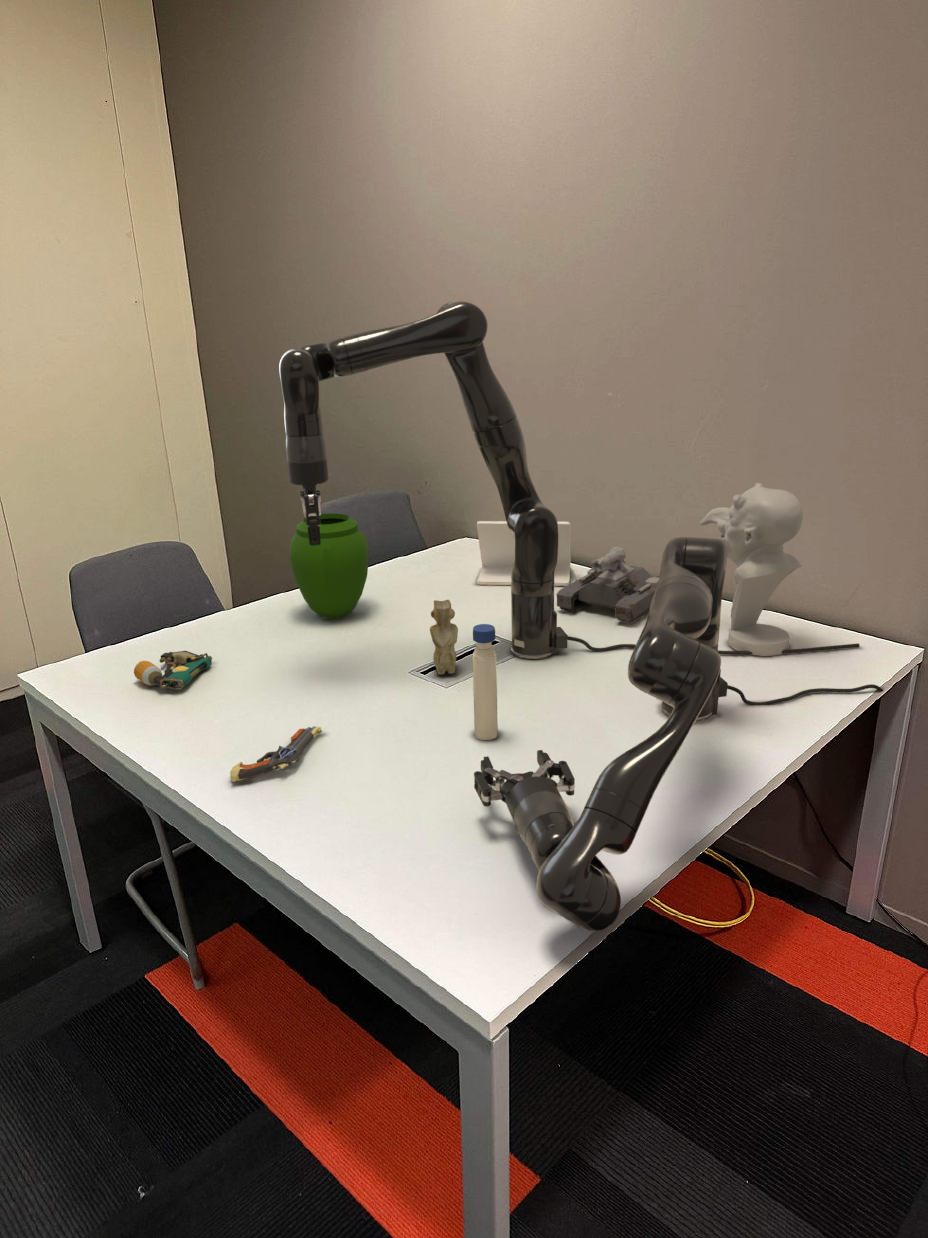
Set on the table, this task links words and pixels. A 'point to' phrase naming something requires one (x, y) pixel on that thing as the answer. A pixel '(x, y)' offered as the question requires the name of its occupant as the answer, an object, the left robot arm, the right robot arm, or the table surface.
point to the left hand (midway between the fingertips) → (314, 539)
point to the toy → (611, 588)
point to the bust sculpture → (758, 561)
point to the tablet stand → (501, 553)
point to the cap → (484, 633)
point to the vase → (330, 565)
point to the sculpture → (444, 637)
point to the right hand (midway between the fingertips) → (512, 758)
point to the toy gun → (277, 756)
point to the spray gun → (172, 669)
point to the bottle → (485, 691)
